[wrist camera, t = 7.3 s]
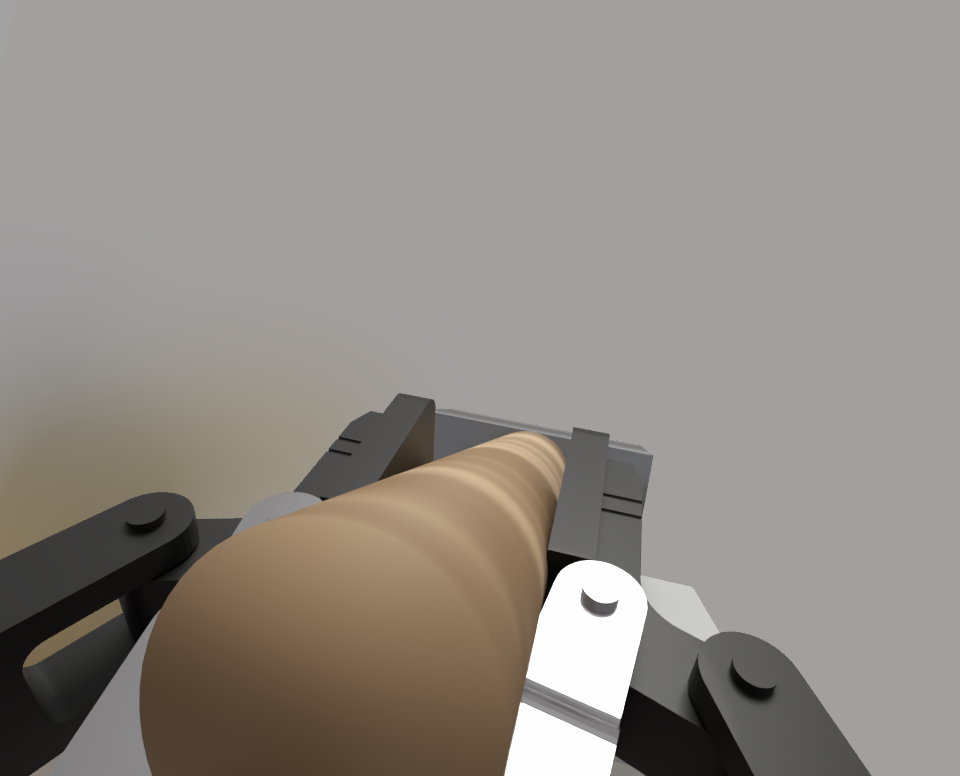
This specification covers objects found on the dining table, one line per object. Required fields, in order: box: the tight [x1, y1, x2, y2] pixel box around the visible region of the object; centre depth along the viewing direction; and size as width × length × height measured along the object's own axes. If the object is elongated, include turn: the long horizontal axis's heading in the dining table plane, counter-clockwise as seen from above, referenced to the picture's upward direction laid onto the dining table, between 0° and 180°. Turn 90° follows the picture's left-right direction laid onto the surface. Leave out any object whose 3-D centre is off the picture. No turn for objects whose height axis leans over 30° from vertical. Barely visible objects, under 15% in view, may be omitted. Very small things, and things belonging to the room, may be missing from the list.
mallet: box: [139, 409, 653, 776], centre depth 15 cm, size 21×8×3 cm, turn 170°
